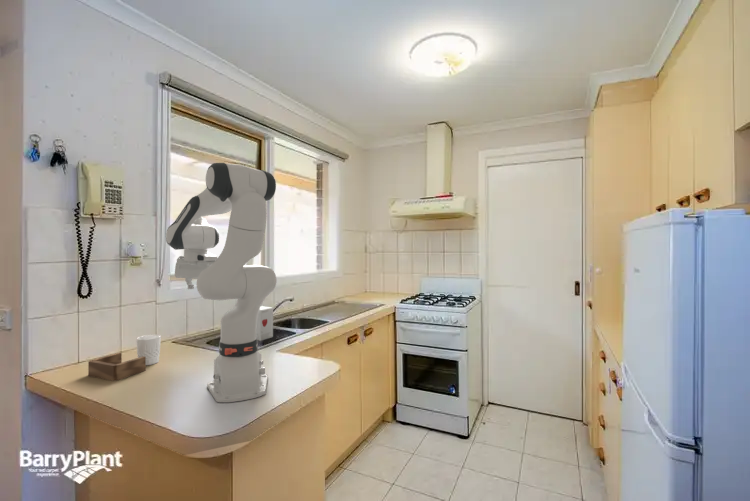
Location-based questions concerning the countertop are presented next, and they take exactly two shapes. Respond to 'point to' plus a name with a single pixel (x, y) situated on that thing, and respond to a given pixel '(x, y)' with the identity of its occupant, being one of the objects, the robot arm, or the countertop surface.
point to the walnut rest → (115, 367)
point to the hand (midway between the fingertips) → (195, 289)
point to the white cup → (149, 348)
